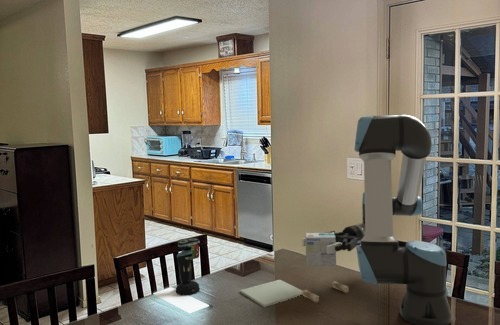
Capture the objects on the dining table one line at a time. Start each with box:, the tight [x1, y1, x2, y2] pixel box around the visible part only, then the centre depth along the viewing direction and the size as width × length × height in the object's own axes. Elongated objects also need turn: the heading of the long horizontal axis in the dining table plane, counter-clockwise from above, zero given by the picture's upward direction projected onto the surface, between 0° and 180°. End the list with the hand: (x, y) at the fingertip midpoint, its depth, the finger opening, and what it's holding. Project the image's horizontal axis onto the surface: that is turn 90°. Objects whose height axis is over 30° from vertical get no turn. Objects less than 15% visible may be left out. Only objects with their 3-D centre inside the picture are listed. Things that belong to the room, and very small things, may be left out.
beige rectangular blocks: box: [302, 280, 350, 303], centre depth 161 cm, size 7×16×2 cm, turn 122°
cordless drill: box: [175, 237, 201, 296], centre depth 167 cm, size 9×12×20 cm
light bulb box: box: [305, 232, 337, 267], centre depth 160 cm, size 11×7×11 cm, turn 83°
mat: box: [239, 279, 304, 308], centre depth 163 cm, size 16×18×1 cm
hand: (314, 246), depth 159 cm, fingers closed on light bulb box, 12 cm apart
